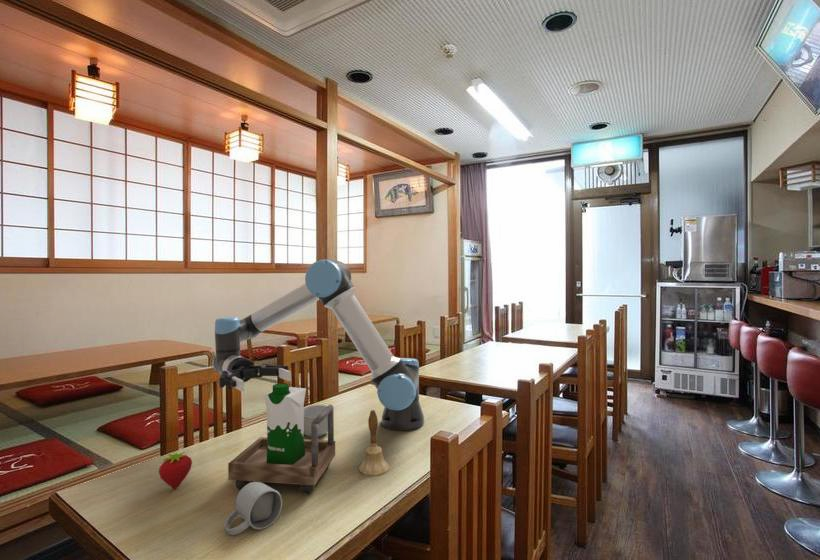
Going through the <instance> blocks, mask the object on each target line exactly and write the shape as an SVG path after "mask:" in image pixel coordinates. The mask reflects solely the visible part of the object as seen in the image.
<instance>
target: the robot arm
mask: <svg viewBox="0 0 820 560" xmlns="http://www.w3.org/2000/svg"><path fill="white" fill-rule="evenodd" d="M304 282H305V283H304V284H302V285H300V286H298V287H296V288H294V289H293V290H291V291H289V292H287V294H284V295H283V296H281V297H279V298H278V299H276V300H274V301H272V302H270V303H268V304H267V305H264V307H261V308H260V309H258V310H257V311H255V312H253V313H251V314H249V315H247V316H245V317H244V318H242V319H240V318H239V317H238V316H224V317H218V318H217V319H215V322H214V342H215V344H214V346H215V355H214V357H213V358H212V367H213V370H214V371H215V372H217V374H219V375H220V377H219V378H218V382H219V383H218V384H219V387H218V388H221V389H222V388H225V386H226V390H232V388H233V389H236V390H238V391H240V392H244V391H245V386H244V385H245V383H247V382H248V381H250V380H251V379H254V378H262V377H278V378H280V379H282V380H285V381H287V382H291V381H292V371H290V370H289V366H288V365H284V364H282V365H277V364H268V363H263V364H262V365H256V364H255V363H254V362H253V361H252V360H251V359H249V358H246V357H244V356H242V355H241V342H244V341H246V340H251V339H254V338H256V337H257V336H259V335H260V334H261V333H262V332H264V331H266V330H268V329H270V328H272V327H274V326H275V325H277V324H279V323H280V322H282V321H284V320H286V319H287V318H289V317H291V316H293V315H295V314H297V313H298V312H299V311H302V310H303V309H306V308H307V307H309V306H311V305H312V304H314V303H316V302H318V301H320V303H321V305H322V306H323V307H324V308H328V309H330V310H331V311H332V312H333V314H334V316H335V317H336V319H337V320H338V321H339V323H340V324H341V327H342V328H343V330H344V331H345V332H346V335H347V336H348V338H349V339H350V341H351V342H352V343H353V345H354V347H355V348H356V350H357V351H358V353H359V355H360V356H361V357H362V359H363V361H364V362H365V364H366V366H368V368H369V370H370V371H371V372H370V373H371V374H370V380H371V382H372V384H373V385H374V386H375V388H376V389H377V392H376V394H377V397H378V401H379V402H380V403H381V405H382V406H383V407H384V408H383V410H382V411H383V412H382V415H381V426H383V427H384V428H386V429H389V430H391V431H392V430H394V431H401V432H402V431H405V432H406V431H411V430H417V429H419V428H421V427H423V425H424V424H425V417H424V416H425V415H424V412H423V409H422V406H421V404H420V366H419V365H420V364H419V363H420V361H419V360H418V359H417V358H412V357H398V356H395V355H394V354H393V353H392V351H391V350H390V349H389V347H388V345H387V344H386V342H385V340H384V339H383V337H382V336H381V334H380V333H379V331H378V330H377V328H376V327H375V325H374V323H373V321H371V319H370V317H369V316H368V314H367V313H366V312H365V310H364V308H363V307H362V305H361V304H360V302H359V300H358V299H357V297H356V295H355V289H356V287H355V286H354V284H353V283H352V273H351V270H350V268H349V267H348V265H346V264H345V263H344V262H342V261H339V260H331V259H328V258H324V259H320V260H317V261H315V262H313V263H312V264H311V265H310V266H309V267H308V269H307V270H306V271H305V277H304Z"/></svg>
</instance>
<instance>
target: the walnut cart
mask: <svg viewBox="0 0 820 560" xmlns="http://www.w3.org/2000/svg"><path fill="white" fill-rule="evenodd" d="M326 406H327V407H326V408H325V409H324V410H323V411H322V412H321V413H320V414H319V415H318V416H317V417H316V418H315V419H314V420H313V421H312V424H311V437H310V438H311V439H305V438H304V446H305V455H304V456H303V457H302V458H301V459H299V460H298V461H297V462H295V463H294V464H293V465H285V464H269V463H266V462H267V436H266V437H265V436H263V437H262V436H260V437H259V438H258V439H256V440H255V441H254V442H253V443H251V444H250V445H249V446H247V447H246V448H245V449H244V450H242V451H241V452H240V453H239V454H238V455H236V457H234V458H233V459H232V460H231V461H229V462H228V463H227V472H228V475H227V477H228V478H227V480H228V481H234V486H235V488H236V489H238V490H239V491H240V490H241V489H242V488H243V487H244V486H245V485H247V484H249V483H251V482H260V483H274V484H290V485H300V491H301V492H302V493H303V494H304V495H310V494H311V493H312V492H313V490H314V489H315V486H316V484H317V482H318V481H319V479H320V478H321V477H322V475H323V474H324V472H325V471H326V470H328V468H330V465H331V462H332V461H333V459H334V458H335V457H336V440H334V439H335V438H334V437H335V435H334V434H335V433H334V432H335V431H334V429H335V428H334V426H335V423H334V421H335V419H334V413H335V412H334V411H335V410H334V408H335V407H334V406H333V405H332V404H328V405H326ZM327 415H328V432H327V440H325V439H324V440H323V439H322V440H321V439H319V437H318V425H319V424H320V422H321V421H322V420H323V419H324V418H325V417H326V416H327Z"/></svg>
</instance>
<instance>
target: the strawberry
mask: <svg viewBox="0 0 820 560" xmlns="http://www.w3.org/2000/svg"><path fill="white" fill-rule="evenodd" d="M176 451H177V449H175V450H174V451H173V453H175V452H176ZM185 452H186V451H184V452H181V453H177V452H176V453H175V454H168V457H166V458H164V459H163V460H162V461H163V462H162V463H161V465H160V466H159V470H158V474H159V476H160V479H161V480H162V481H163V482H164V483H165V484H166V485H168V486H169V487H170V488H172V489H177V488H179V487H180V485H181V484H182V482H183V481H185V479H186V477H187V476H188V474H189V473H190V471H191V469H192V464H193V461H192V458H191V457H190V456H188V455H187V454H184V453H185Z"/></svg>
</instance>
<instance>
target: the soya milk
mask: <svg viewBox="0 0 820 560" xmlns="http://www.w3.org/2000/svg"><path fill="white" fill-rule="evenodd" d="M306 392H307V388H306V387H304V388H303V387H296V386H295V387H293V386H290V385H289V383H286V382H285V383H284V382H283V383H282V382H281V383H280V382H279V383H275V384H273V385H272V390H270V391H268V392H265V393H264V394H263V396H264V401H265V405H266V437H267V462H266V463H269V464H285V465H293V464H294V463H295V462H297V461H298V460H299V459H301V458H302V457H303V456H304V455H305V446H304V439H305V434H304V405H305V399H306Z"/></svg>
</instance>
